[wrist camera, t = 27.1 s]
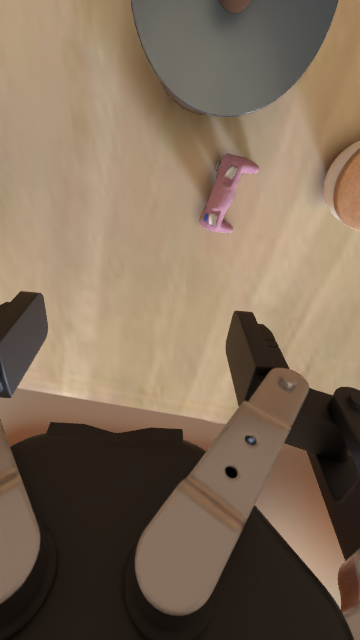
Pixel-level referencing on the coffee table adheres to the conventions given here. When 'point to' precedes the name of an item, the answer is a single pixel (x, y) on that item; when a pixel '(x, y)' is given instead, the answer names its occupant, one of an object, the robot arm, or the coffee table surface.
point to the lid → (231, 48)
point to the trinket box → (345, 186)
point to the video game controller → (224, 191)
